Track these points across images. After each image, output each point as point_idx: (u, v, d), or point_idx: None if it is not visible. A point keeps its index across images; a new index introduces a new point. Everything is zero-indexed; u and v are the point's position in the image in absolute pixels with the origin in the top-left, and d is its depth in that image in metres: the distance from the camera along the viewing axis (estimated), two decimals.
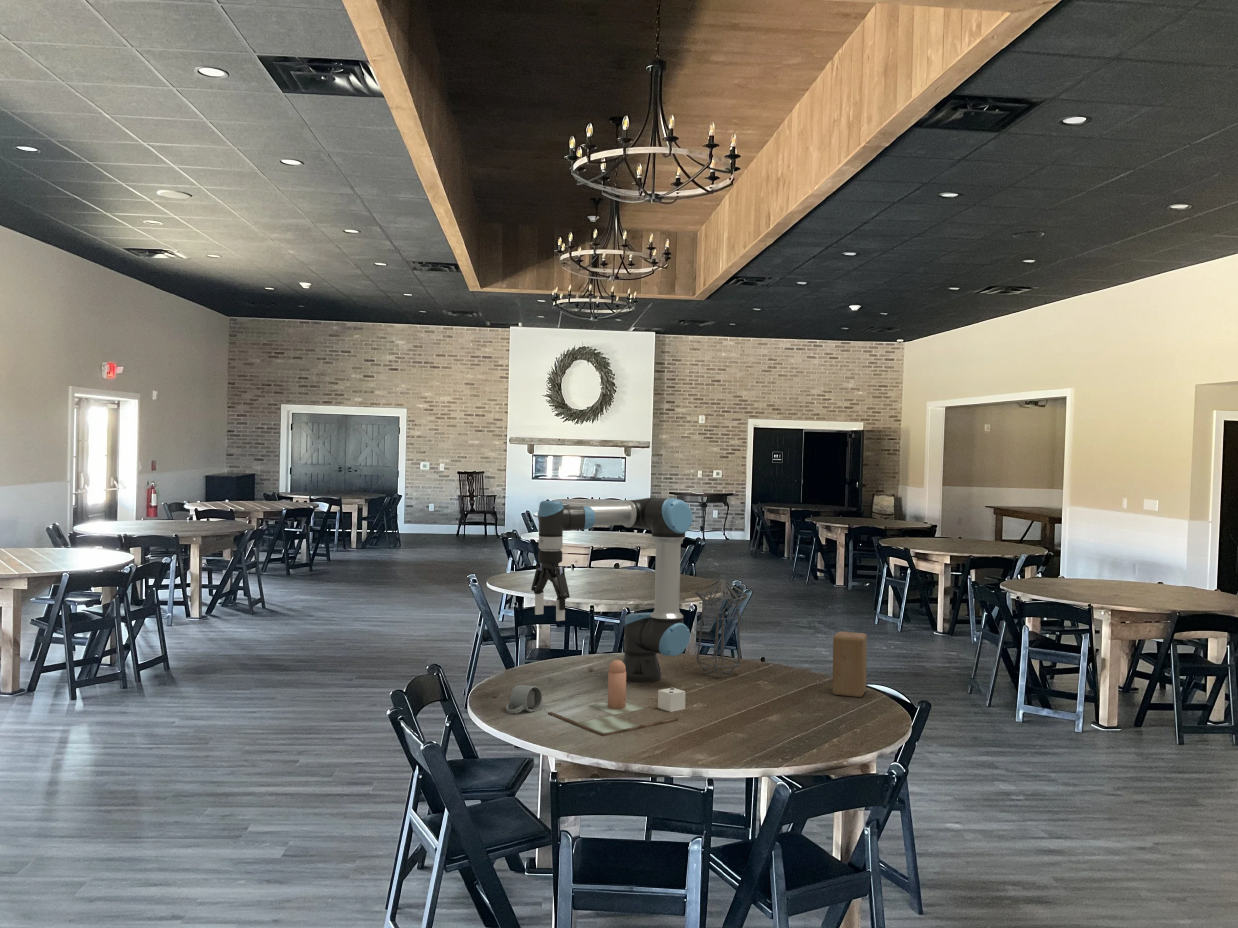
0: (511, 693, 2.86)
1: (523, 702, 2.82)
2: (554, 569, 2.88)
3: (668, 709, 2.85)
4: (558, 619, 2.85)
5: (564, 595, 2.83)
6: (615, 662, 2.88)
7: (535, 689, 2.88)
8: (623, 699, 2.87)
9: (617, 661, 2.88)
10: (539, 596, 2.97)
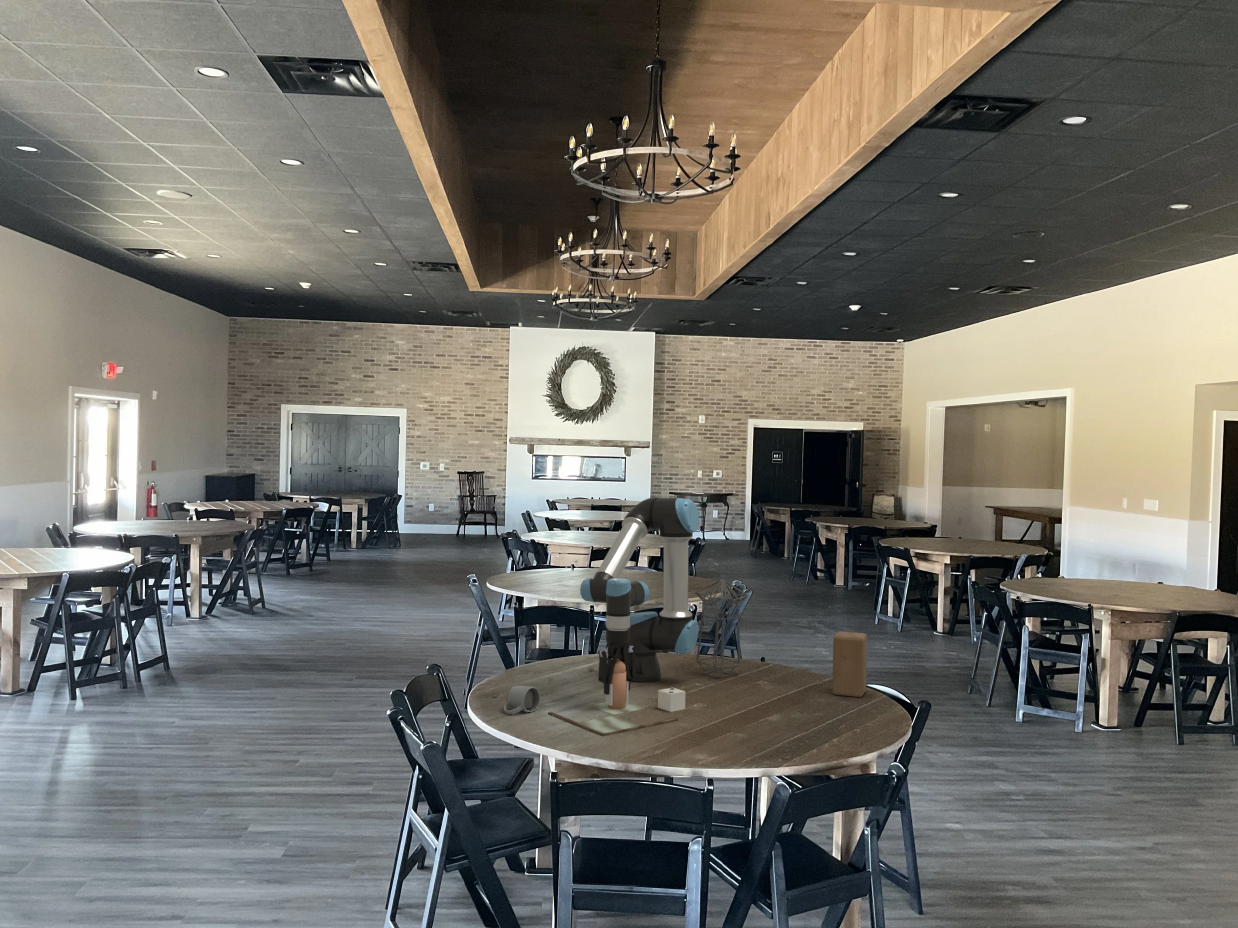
0: (508, 693, 2.85)
1: (521, 703, 2.81)
2: None
3: (668, 709, 2.85)
4: (606, 702, 2.88)
5: (599, 679, 2.86)
6: None
7: (533, 690, 2.87)
8: (623, 699, 2.87)
9: (617, 661, 2.88)
10: None
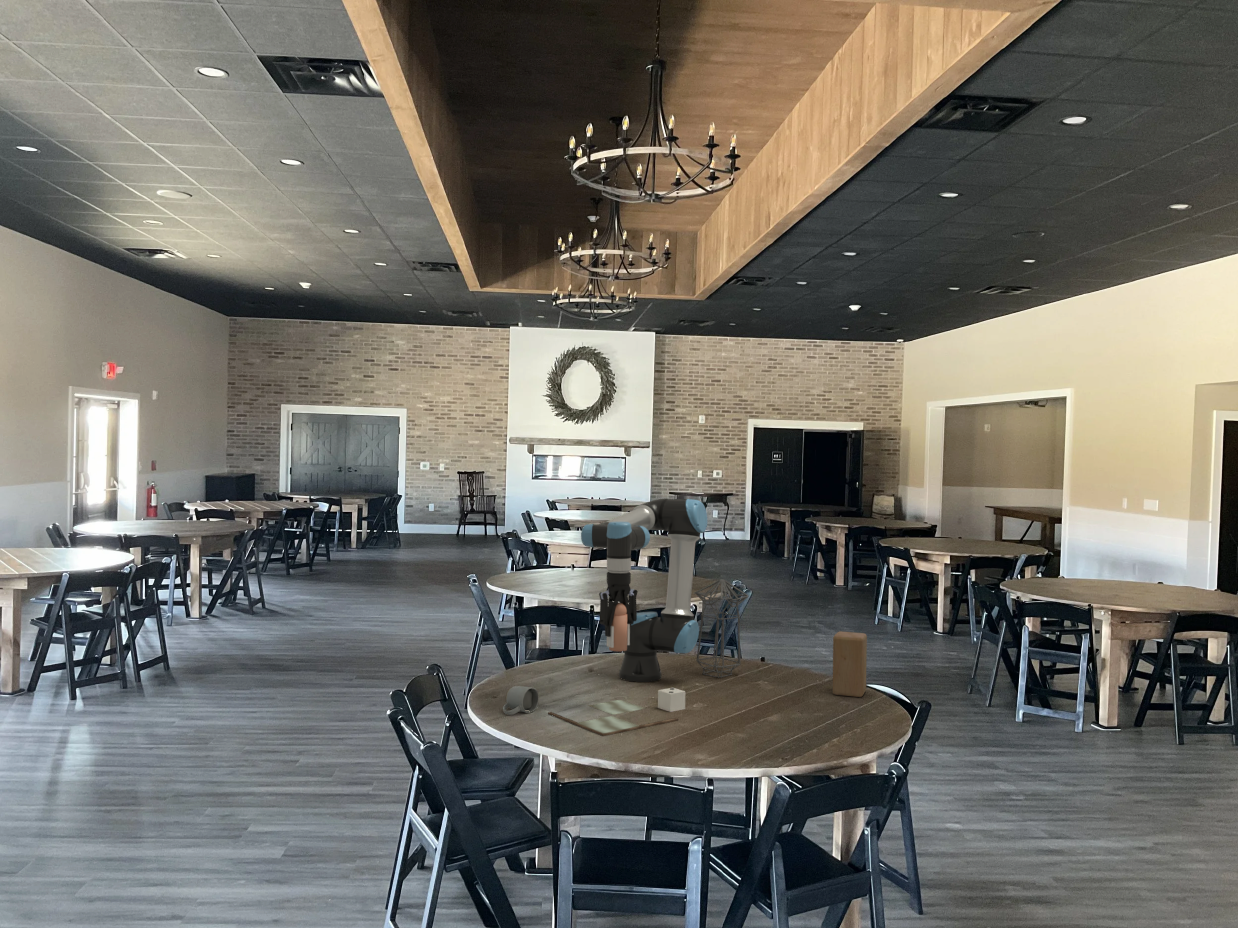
0: (507, 694, 2.85)
1: (519, 703, 2.81)
2: None
3: (668, 709, 2.85)
4: (607, 645, 2.88)
5: (601, 621, 2.86)
6: (616, 605, 2.88)
7: (532, 690, 2.86)
8: (624, 641, 2.88)
9: (618, 604, 2.88)
10: None
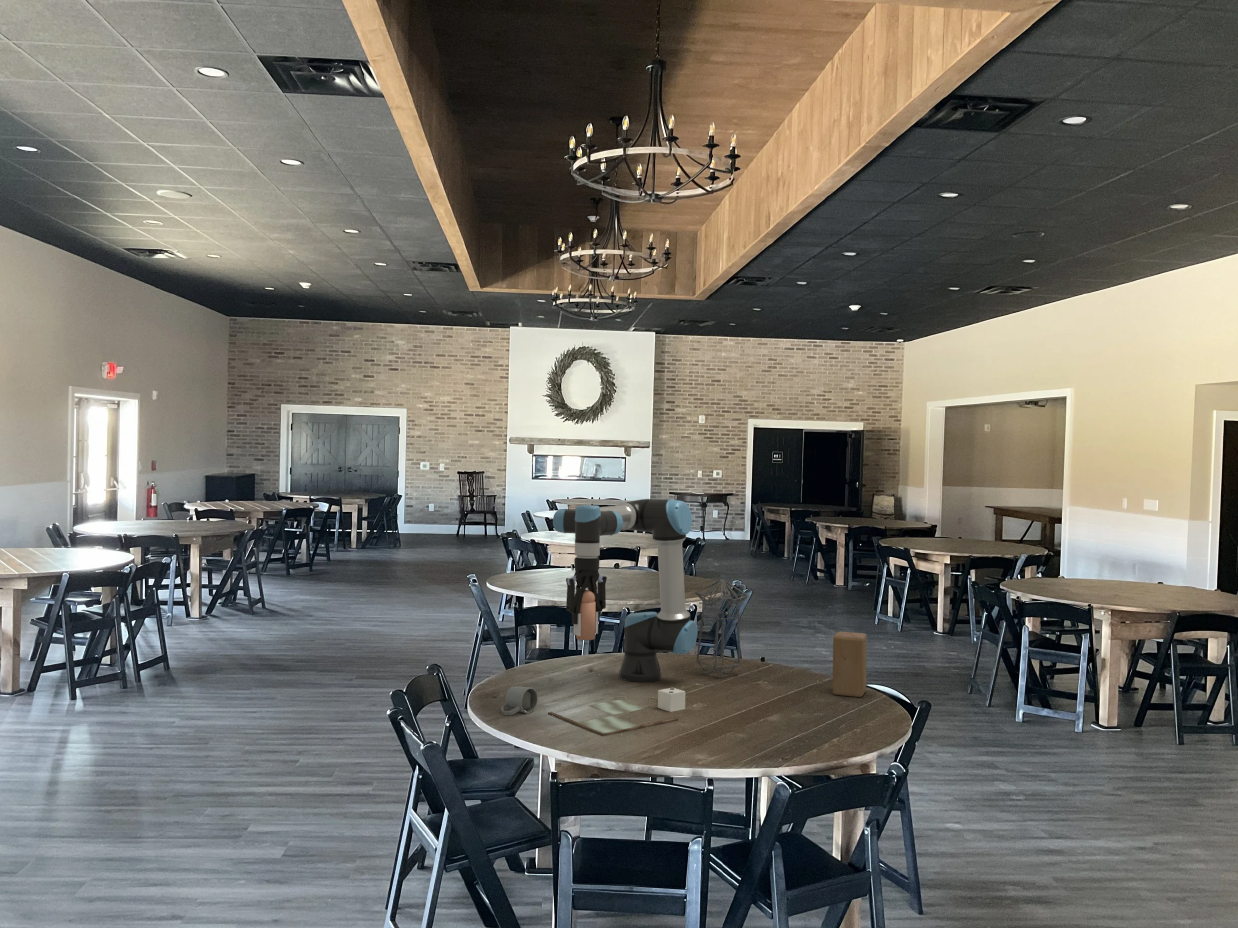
0: (506, 694, 2.84)
1: (518, 703, 2.80)
2: None
3: (668, 709, 2.85)
4: (574, 633, 2.77)
5: (567, 608, 2.75)
6: (584, 592, 2.77)
7: (531, 690, 2.86)
8: (592, 630, 2.77)
9: (586, 591, 2.78)
10: None
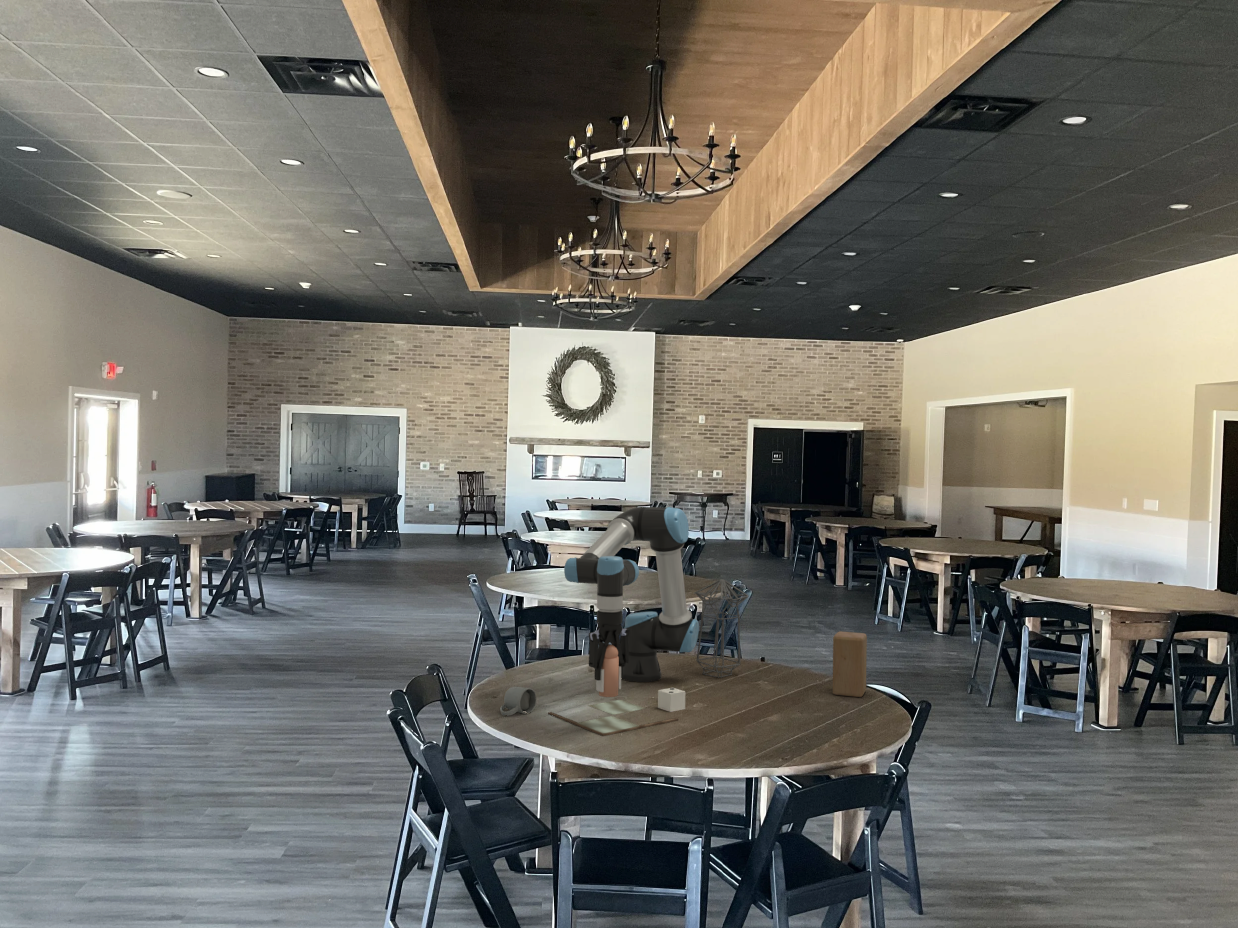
0: (505, 694, 2.84)
1: (517, 704, 2.80)
2: None
3: (668, 709, 2.85)
4: (597, 689, 2.68)
5: (590, 663, 2.66)
6: (607, 647, 2.68)
7: (529, 691, 2.85)
8: (615, 686, 2.68)
9: (609, 646, 2.69)
10: None
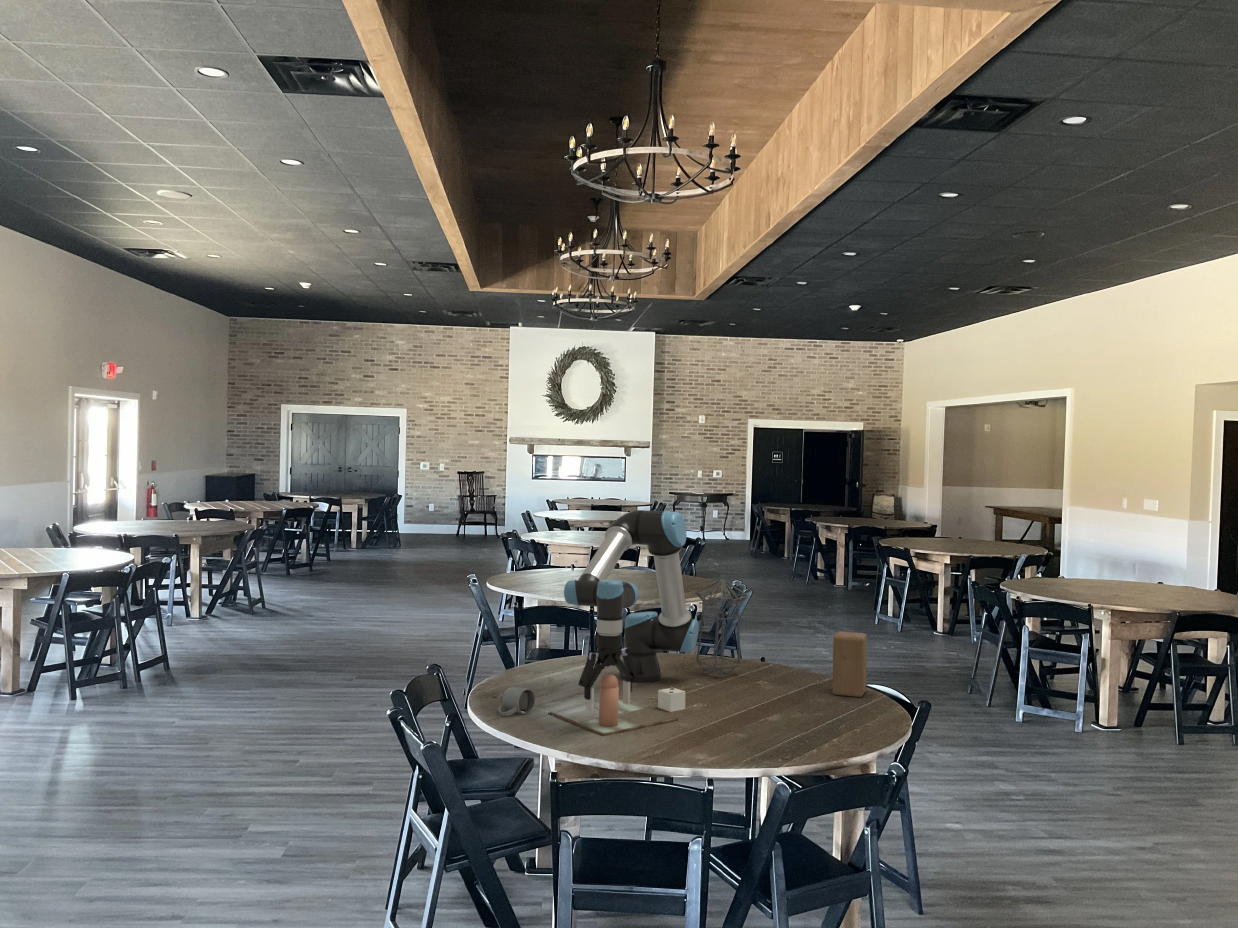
0: (503, 695, 2.83)
1: (515, 704, 2.79)
2: None
3: (668, 709, 2.85)
4: (587, 708, 2.66)
5: (580, 683, 2.64)
6: (607, 676, 2.68)
7: (528, 691, 2.85)
8: (615, 716, 2.68)
9: (609, 675, 2.69)
10: (625, 684, 2.74)
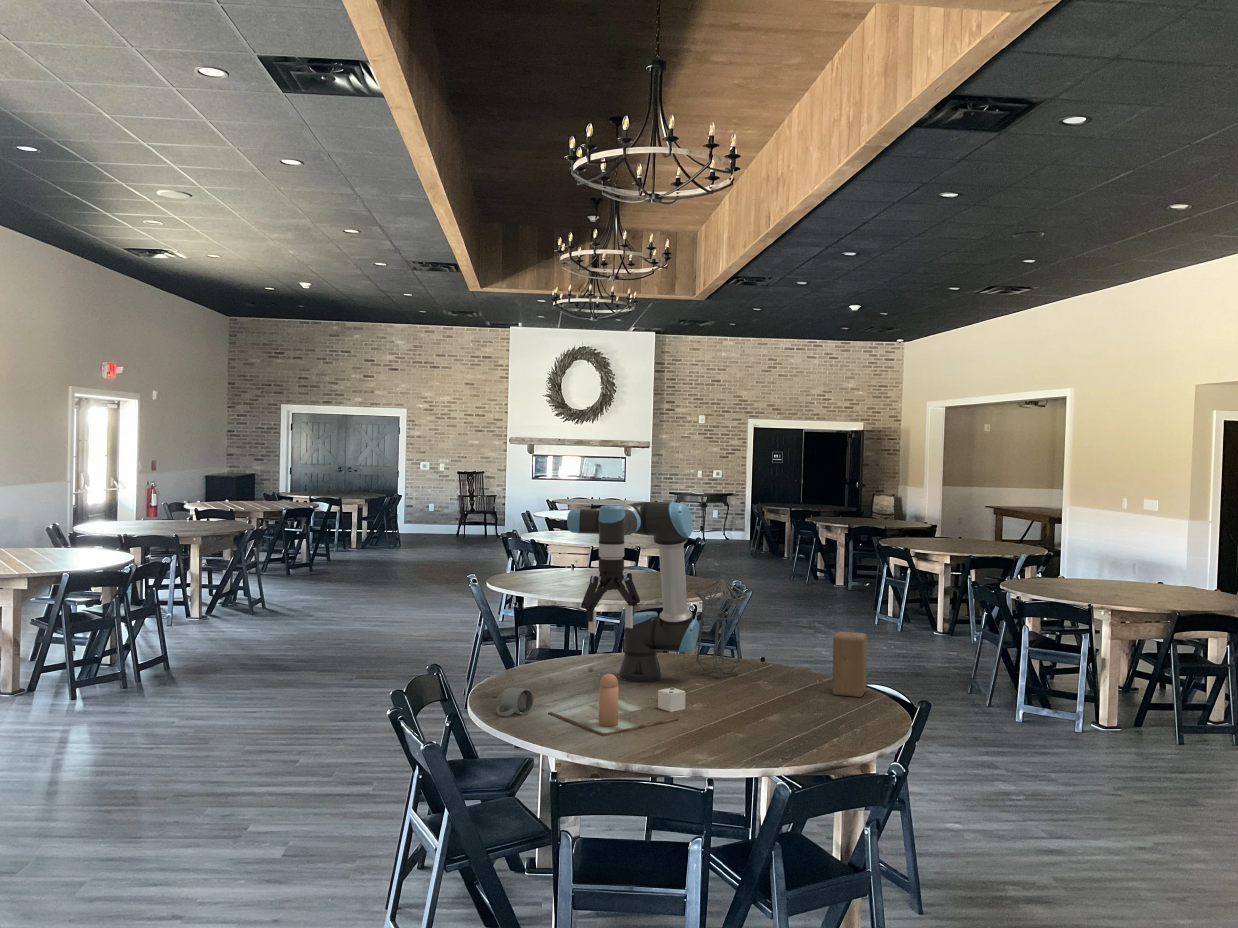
0: (502, 695, 2.83)
1: (514, 705, 2.79)
2: None
3: (668, 709, 2.85)
4: (589, 630, 2.69)
5: (582, 605, 2.67)
6: (606, 676, 2.68)
7: (527, 692, 2.84)
8: (615, 716, 2.68)
9: (609, 675, 2.69)
10: (627, 608, 2.77)
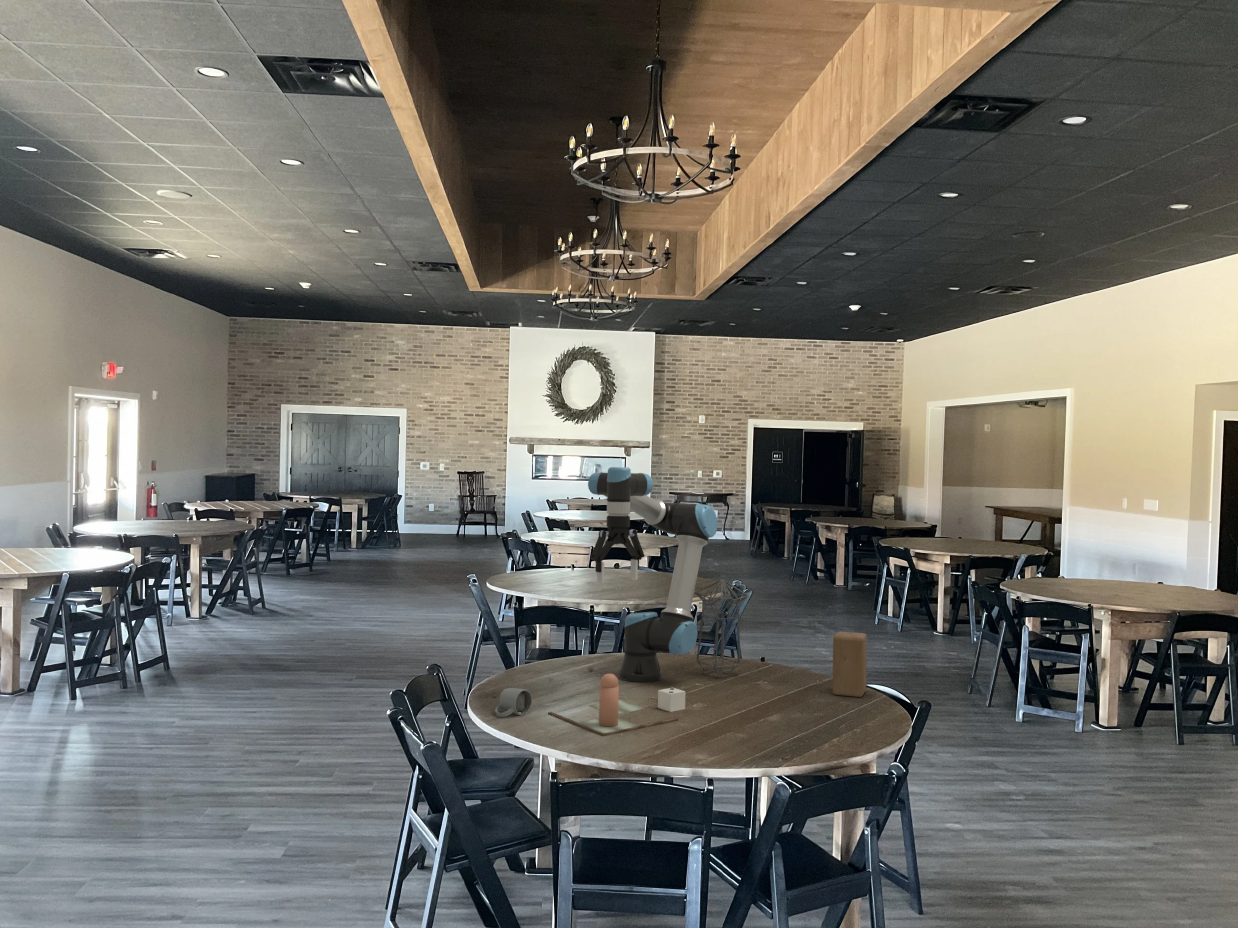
0: (500, 696, 2.82)
1: (512, 705, 2.78)
2: None
3: (668, 709, 2.85)
4: (598, 580, 2.94)
5: (591, 557, 2.92)
6: (607, 676, 2.69)
7: (525, 692, 2.84)
8: (615, 716, 2.68)
9: (609, 675, 2.69)
10: (632, 562, 3.02)
